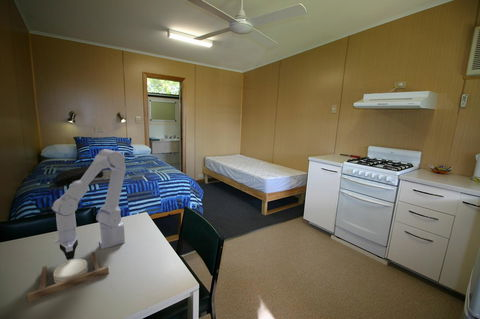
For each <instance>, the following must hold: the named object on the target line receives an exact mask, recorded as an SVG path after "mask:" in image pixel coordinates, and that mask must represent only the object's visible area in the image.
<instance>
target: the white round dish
mask: <svg viewBox="0 0 480 319" xmlns="http://www.w3.org/2000/svg"><path fill="white" fill-rule="evenodd" d="M88 271H89V266H88V261H87V260H85V259H83V258H77V259H76V258H74V259H70V260H67V261H66V262H64V263H62V264H60V265H59V266H57V267H56V268H55V269H54V270H53V281H54V284H56V283H59V282H62V281H65V280H68V279H71V278H74V277H77V276H80V275H83V274H86V273H88Z"/></svg>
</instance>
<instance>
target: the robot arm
mask: <svg viewBox="0 0 480 319" xmlns="http://www.w3.org/2000/svg"><path fill="white" fill-rule="evenodd" d="M125 161H126V157H125V155H124V154H123V152H120V151H119V150H118V151H117V150H111V149H108V148H104V149H101V150H99V152H98V153H97V154H96V155H95V157H94V159H93V161H92V163H91V164H90V165H89V167H88V168H87V170H86V171H85V172H84V174H83V175H82V177H81V178H80V179H79V180H76V181H74V182H73V183H70V184H69V185H68V187H69V188H68V189H67V190H66V191H65V192H64V193H63V195H62V194H61V195H60V198H57V199H56V200H55V201H54V202H53V204H52V206H51V209H52V210H53V211H54V212H55V217H56V219H55V220H56V228H57V237H58V239H55V240H54V244H59V249H60V251H61V252H63V254H64V256H65V259H66V260H67V261H71V260H74V259H75V256H76V253H75V252H76V249H77V247H78V245H79V242H78V239H79V236H78V232H77V230H78V229H77V222H76V213H75V212H76V211H78V210H77V209H78V207H79V206H78V205H79V203H80V201H81V199H82V198H83V197H84V195H86V193H87V192H88V191H89V185H90V183H91V182H92V181H93V180H94V179H95V178H96V177H97V176H98V174H100V172H101V171H102V170H104V169H108V168H109V169H110V170H111V175H110V179H109V183H108V187H107V193H106V196H105V197H106V198H105V201H104V204H103V205H102V206H100V209H99V211H98V212H97V214H96V218H95V219H96V221H97V222H98V223H99V231H100V232H99V233H100V239H99V241H98V242H99V244H100V248H101V249H102V250H105V249H108V248H111V247H114V246H117V245H122V244H125V243H126V240H125V239H126V238H125V237H126V236H125V225H124V222H123V221H121V220H122V217H121V212H122V211H121V208H120V206H119V203H120V198H121V193H122V189H123V184H124V180H125V175H126V170H127V167H126V162H125Z"/></svg>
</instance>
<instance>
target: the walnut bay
mask: <svg viewBox="0 0 480 319" xmlns="http://www.w3.org/2000/svg"><path fill="white" fill-rule="evenodd" d="M91 260H92V264H93V269H94V270H92V271H89V272H87V273H86V274H83V275H80V276H77V277H74V278H71V279H68V280H65V281H62V282H59V283H54V284H52V285H51V284H50V285H48V286H47V283H48V282H47V278H48V266H47V265H45V266H42V267H41V276H40V285H39V289H37V290H34V291H30V292H28V293H27V296H26V297H27V302H29V303H31V302H34V301H36V300H40V299H42V298H45V297H47V296H51V295H53V294H56V293H58V292H62V291H63V290H67V289H70V288H72V287H75V286H78V285H81V284H83V283H86V282H89V281H93V280H95V279H98V278H100V277H103V276H105V275H109V274H110V271H109V266H108V265H107V266H104V267H99V262H98V259H97V253H96V251H91ZM33 300H34V301H33Z"/></svg>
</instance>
